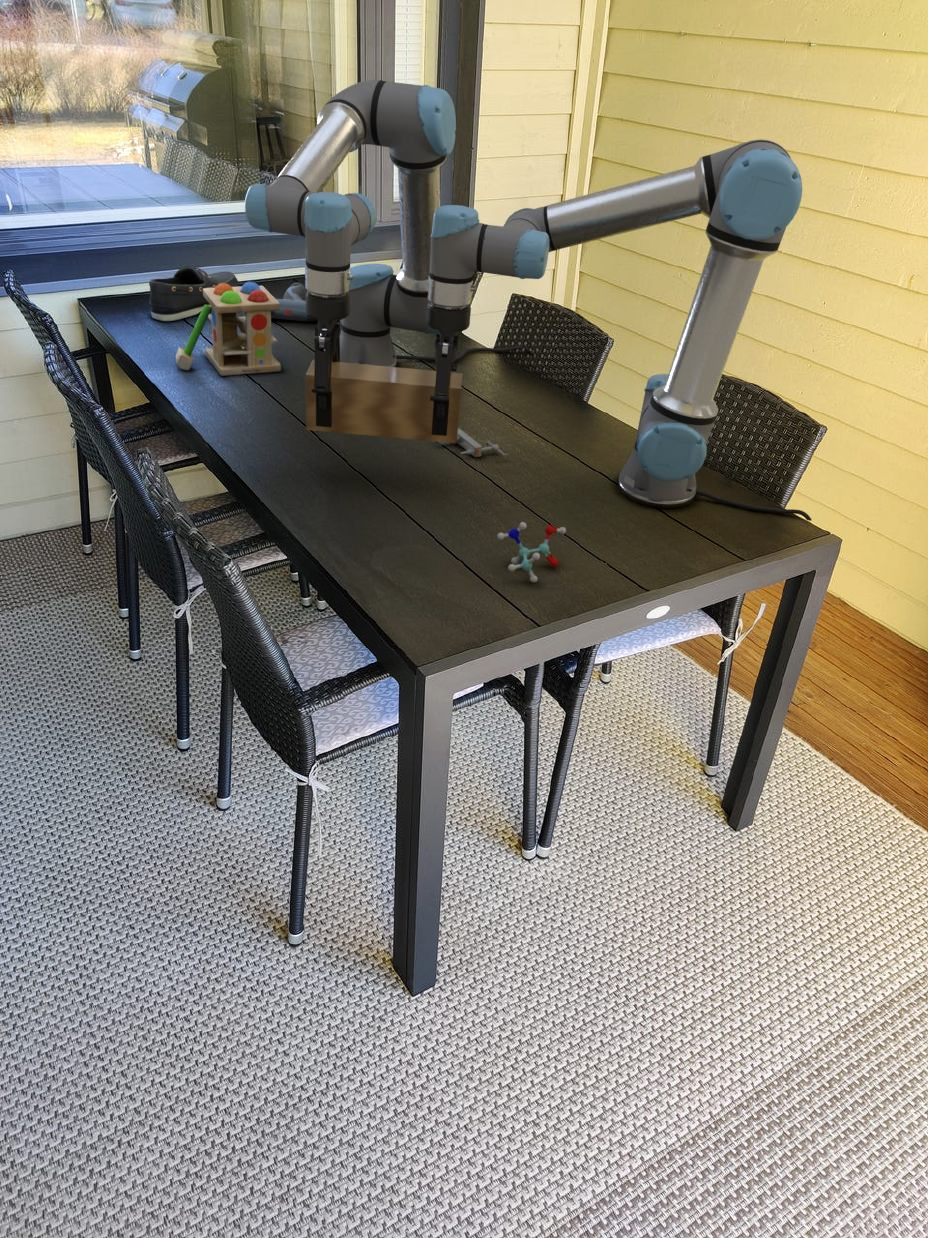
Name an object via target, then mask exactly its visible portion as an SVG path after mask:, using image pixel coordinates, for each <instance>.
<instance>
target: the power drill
mask: <svg viewBox="0 0 928 1238" xmlns="http://www.w3.org/2000/svg"><path fill="white" fill-rule="evenodd" d="M307 291H308V290H307V289H306V288H305V284H303V283H301V282H293V283H292V284H291V285H290V286H289V287H288V288H287V289H286V291H285V292H284V294H283V297H282V298H275V299H276V300H277V301H278V302H279V303H280V310H271V319H274V320H275V319H276V320H283V321H294V322H295V321H297V322H319V321H318V320H317V319H316V318H312V317H310V316H309V315H308V314H307V313H306V293H307Z"/></svg>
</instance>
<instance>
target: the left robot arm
mask: <svg viewBox="0 0 928 1238" xmlns="http://www.w3.org/2000/svg"><path fill="white" fill-rule="evenodd" d="M316 121H317V123H316V125H315V126H314V128H313V129H312V131H311V132H310V133H309V135H308V136H307V137H306V138H305V139H304V141H303V143H302V144H301V145H300V147H299V148H298V149H297V150H296V152H295V153H294V154H293V156H291V159H290V160H289V161H288V162H287V164H286V165H285V166H284V167H283V169H282V170H281V171H280V173H279V174H278V175H277V177H276V178H275V179H274V180H273V181H272V182H271V184H267V183H265V182H264V183H254V184H252V185H251V186H249V188H248V190H247V192H246V195H245V198H244V199H245V200H244V212H245V217H246V220H247V222H248V224H249V225H250V227H251V228H254V229H256V230H260V231H264V232H265V231H266V232H268V233H271V234H272V233H277V234H283V235H290V236H297V237H298V236H299V237H304V242H305V243H304V244H305V264H304V267H305V269H304V286H305V288H306V290H307V293H306V297H305V301H306V313H307V314H308V315H309V316H310V317H312V318H316V319H317V320H318V321H317V323H316V326H315V327H314V338H313V342H314V360H315V373H314V389H311V391H312V393H316V426H321V427H331V426H332V392H331V373H332V362H344V363H355V364H365V365H376V366H387V367H397V361H398V360H407V361H409V360H412V361H427V362H429V361H430V362H435V357H434V356H421V355H399V354H396V352H395V347H394V343H393V341H392V337H391V336H392V335H391V328H394V329H399V330H400V329H401V330H407V331H413V332H417V333H418V332H419V333H425V335H428V334H431V335H432V334H433V335H436V333H438V334H440V333H441V332H440V331H439V330H437V329H433V328H431V327H429V326H428V324H427V305H428V303H429V302H430V301H429V300H428V281H429V273H430V253H431V234H432V226H433V217H434V212H435V211H436V210H437V209H438V208H439V207H441V191H440V190H441V188H440V186H441V185H440V184H441V183H440V182H441V181H440V167H441V166H442V165H443V164H444V163H445V162H446V160H447V157H448V156H449V155H450V154H451V153H452V151H453V150H454V147H455V144H456V131H457V118H456V109H455V105H454V102H453V99H452V97H451V96H450V94H449V93H448V91H446V90H445V89H443V88H440V87H434V86H431V85H429V84H423V85H421V84H412V83H404V82H395V81H386V80H382V79H381V80H380V79H367V80H363V81H360V82H357V83H354V84H351V85H350V86H347V87H346V88H344V89H342V90H341V91H339V92H338V93H336V94H334V96H332V97H331V98H330V99H329V100H328V101H327V102H326V103H325V104H324V105H323V106H322V108H321V109H320V111H319V112H318V114H317V120H316ZM363 145H369V146H370V145H372V146H376V147H377V146H378V147H383V148H388V153H389V161H390V162H391V164H393V165H394V166H395V167H396V168H397V179H398V200H399V201H398V203H399V219H400V220H399V221H400V239H401V241H400V242H401V258H402V267H401V268H400V269H399V270H398V272H397V274H394V269H393V267H392V266H391V265H388V264H385V263H366V264H365V263H364V264H358V265H354V266H351V253H352V251H351V250H352V249H351V248H352V246H354V245H355V244H357V243H359V242H361V241H362V240H363V241H364V240H365V239H366V238H367V237H368V236H369V235H370V233H371V232H373V230H374V228H375V226H376V223H377V210H376V208H375V206H374V203H373V202H372V201H371V199H369V197H367V196H366V195H364V194H362V193H359V192H352V193H350V192H348V193H344V194H341V193H338V192H331V191H330V192H329V191H323V190H324V189H325V187H326V186H327V184H329V181H330V180H331V179H332V177H333V176H334V174H335V173H336V171H337V170H338V169H339V167H340V166H341V165H342V163H343V161H344V160H345V159H346V157H347V156H348V155H349V153H352V152H355V151H357V150H358V149H359V148H360V147H361V146H363ZM522 346H523V345H515V346H510V347H509V346H508V347H503V348H502V347H501V348H498V347H497V348H496V347H495V348H494V347H472V348H471V347H470V348H467V349H465V350H463V351H462V352H461V353H460V354H459V355H458V356H455V362H458V361H460V360H461V359H463V358H464V357H465V356H466V355H467V354H471V353H475V352H479V353H480V352H484V353H485V352H488V353H507V352H513V351H518V350H521V351H523V350H522V349H523V347H522ZM524 351H525V352H527V353H528V354H529V355H534V354H535V353H534V351H533V352H531V351H530V350H524Z"/></svg>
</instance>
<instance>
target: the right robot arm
mask: <svg viewBox="0 0 928 1238" xmlns="http://www.w3.org/2000/svg"><path fill="white" fill-rule="evenodd" d="M802 197H803V181H802V175H801V173H800V170H799V168H798V166H797V164H796V163H795V162H794V160H793V159H792V157H791V155H790V154H789V153H788V150H787V149H785V148H784V147H783V146H781V145H780V144H778V143H777V142H775V141H773V140H769V139H752V140H748V141H746V142H745V141H744V142H742V143H739V144H737V145H734V146H732V147H729V148H726V149H723V150H720V151H717V152H713V153H710V154H707V155H704V156H700V157H699V158H698V160H697V161H696V163H695V164H694V165H692V166H691V165H690V166H688V167H684V168H681V169H677V170H672V171H669V172H666V173H662V174H659V175H655V176H651V177H647V178H644V179H640V180H636V181H632V182H628V183H625V184H622V185H621V184H620V185H617V186H613V187H610V188H607V189H603V190H599V191H595V192H591V193H588V194H584V195H581V196H577V197H574V198H569V199H565V200H562V201H558V202H554V203H551V204H547V205H544V206H540V207H537V208H533V207H532V208H530V207H523V208H520V209H518V210H516V211H514V212H513V213H512V214H510V215H509V216H508V218H507V219H506V220H505V222H504V224H503V225H495V224H494V225H493V224H486V223H483V222H480V218H479V212H478V210H476V208H473V207H468V206H465V205H460V204H446V205H440V207H439V208H438V209H437V210H436V211H435V212H434V217H433V226H432V234H431V253H430V273H429V281H428V300H429V301H430V302H429V303H428V305H427V324H428V326H429V327H431V328H433V329H437V330H439V331H440V332H441V333H440V334H438V333H436V334H435V339H434V340H435V341H434V347H435V354H434V355H435V357H434V358H435V361H434V362H435V364H436V369H435V371H436V382H435V394H434V396H430V401H434V404H433V420H432V435H441V436H447V426H448V413H449V388H450V377H451V372H457V371H458V370H457V369H458V365H457V364H455V363H456V361H455V357H456V353H457V350H458V345H459V335H458V334H456V332H464V331H466V330H467V329H468V328H469V327H470V326H471V325H470V324H471V315H472V314H471V312H472V307H471V306H470V304H471V303H472V299H473V298H472V297H473V293H474V292H476V291H477V286H476V285H475V284H473V283H474V278H475V277H474V275H475V272H477V273H483V274H490V275H498V276H506V277H512V278H518V279H520V280H525V279H527V280H528V279H529V280H539V279H542V278H543V277H544V275H545V273H546V270H547V269H546V268H547V266H548V260H549V253H552V252H555V251H558V250H561V249H562V250H563V249H566V248H570V247H574V246H578V245H582V244H586V243H589V242H594V241H599V240H602V239H606V238H610V237H614V236H617V235H622V234H625V233H630V232H634V231H638V230H642V229H647V228H650V227H653V226H658V225H662V224H666V223H669V222H670V223H671V222H673V221H678V220H682V219H687V218H690V217H695V216H698V215H703V216H704V217H706V218H708V222H707V225H706V228H705V235H706V237H707V239H708V241H709V244H710V247H709V250H708V253H707V256H706V258H705V262H704V266H703V268H702V271H701V274H700V277H699V280H698V283H697V286H696V289H695V292H694V296H693V299H692V302H691V303H690V304H691V305H690V308H689V311H688V313H687V316H686V319H685V323H684V326H683V328H682V331H681V335H680V337H679V341H678V344H677V347H676V350H675V353H674V356H673V359H672V362H671V365H670V368H669V371H668V373H657V374H654V375H651V376H650V377H649V378H648V380H647V382H646V386H645V388H644V390H643V391H644V396H643V401H642V406H641V410H640V411H641V412H640V416H639V421H638V427H637V431H636V437H635V443H634V447H633V450H632V452H631V454H630V455H629V457H628V459H627V460H626V461H625V462H626V463H624V466H623V468H622V469H621V472H620V473H619V476H618V481H617V488H618V490H619V492H620V493H621V494H622V495H623V496H624V497H626V498H628V499H629V500H631V501H633V502H635V503H637V504H640V505H644V506H648V507H652V508H658V509H677V508H682V507H686V506H688V505H690V504H692V503H693V502H694V501H695V498H696V495H699V496H701V497H706V498H708V499H711V500H713V501H716V502H719V503H722V504H726V505H730V506H734V507H738V508H742V509H746V510H753V511H760V512H770V513H777V514H784V515H785V514H787V515H789V514H790V513H791V514H793V515H794V514H795V515H800V516H802V517H804V519H805V520H806V521H808V522H811V521H813V520H812V519H813V518H811V516H810V515H809V514H808V513H807V512H805V511H803V510H800V509H795V508H794V509H792V508H791V509H789V508H787V509H786V508H776V507H768V506H761V505H759V506H758V505H753V504H747V503H743V502H738V501H734V500H731V499H726V498H723V497H720V496H718V495H714V494H712V493H709V492H706V491H703V490H699V489H697V477H696V474H697V473H698V471H699V470H701V468H702V466H703V465H704V462H705V461H706V457H707V455H708V453H707V451H708V447H707V446H708V445H707V443H708V440H709V437H710V435H711V432H712V429H713V426H714V424H715V422H716V418H717V415H718V414H719V408H718V406H717V404H716V402H715V400H714V399H715V396H716V392H717V390H718V387H719V385H720V382H721V379H722V376H723V373H724V371H725V368H726V365H727V362H728V359H729V357H730V355H731V351H732V348H733V346H734V343H735V341H736V337H737V335H738V333H739V330H740V327H741V324H742V320H743V318H744V315H745V312H746V310H747V307H748V305H749V302H750V299H751V296H752V293H753V291H754V289H755V286H756V282H757V280H758V278H759V277H758V276H759V275H760V271H761V268H762V266H763V263H764V261H765V260H766V259H768V258H769V257H771V256H772V255H775V254H776V253H777V252H778V251H779V248H780V246H781V242H782V240H783V237H784V235H785V232H786V229H787V227H788V226H789V225H790V223H791V222H792V221H793V220H794V218H795V216H796V215H797V213H798V211H799V208H800V205H801V201H802ZM441 394H445V395H441ZM791 514H790V515H791Z"/></svg>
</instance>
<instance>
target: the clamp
mask: <svg viewBox="0 0 928 1238" xmlns="http://www.w3.org/2000/svg"><path fill="white" fill-rule="evenodd" d="M438 443H439V444H440V445H441V446H444V445H450V444H451V443H446V442H438ZM456 444H458V445H459V446H460V447H462V449H464V451H460V455H471V456H473V457H474V458H478V457H479V458H480V457H482V455H483V454H482V453H484V452H490V451H491V452H498V453H499V454H500V455H501V456H503V459H508V453H507V452H506V453H504V452H503V451H502V450H501V449H500V445H499V444H493V443H491V441H490V440H487V441H485V445H486V447H483V446H482V445H481V444H480V443H479V442H477V441H476V439H473V438H472V437H471V436H470V435H468V434H467V433H465V431H463V430H462V429H461V428H460V427H458V434H457V443H456Z"/></svg>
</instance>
